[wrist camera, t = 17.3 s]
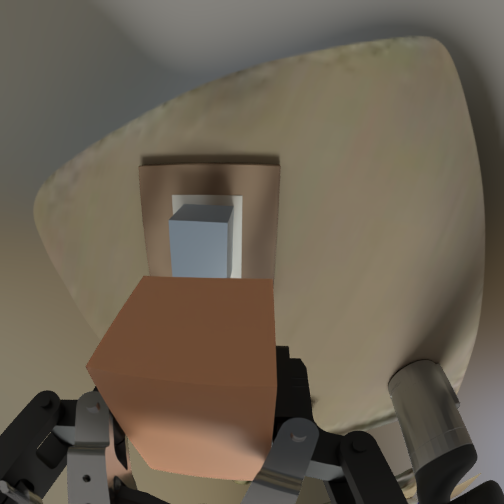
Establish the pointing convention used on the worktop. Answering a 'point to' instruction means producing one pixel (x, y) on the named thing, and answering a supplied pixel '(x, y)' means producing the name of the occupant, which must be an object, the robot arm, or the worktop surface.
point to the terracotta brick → (193, 374)
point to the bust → (412, 501)
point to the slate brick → (202, 241)
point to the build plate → (214, 193)
